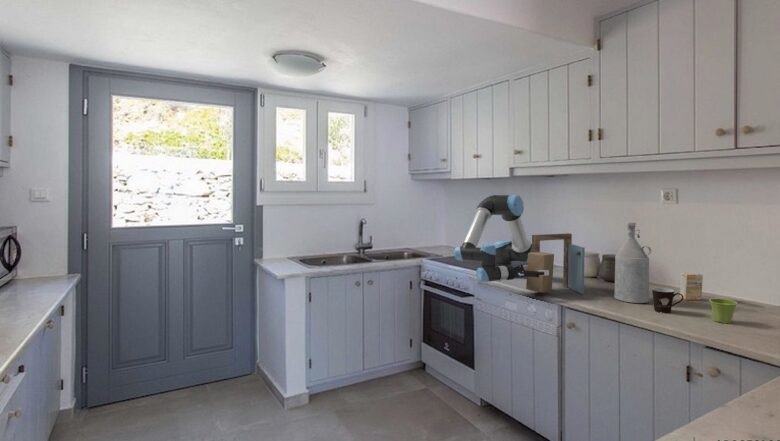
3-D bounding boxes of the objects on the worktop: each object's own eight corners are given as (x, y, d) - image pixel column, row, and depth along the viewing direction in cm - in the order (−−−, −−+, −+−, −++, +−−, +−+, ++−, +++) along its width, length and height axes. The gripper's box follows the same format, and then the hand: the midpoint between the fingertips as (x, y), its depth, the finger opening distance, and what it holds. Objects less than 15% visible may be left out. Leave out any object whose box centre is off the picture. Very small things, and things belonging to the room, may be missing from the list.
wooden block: (525, 289, 233) (527, 252, 232) (535, 287, 239) (537, 251, 238) (542, 292, 225) (544, 255, 224) (552, 290, 232) (554, 253, 231)
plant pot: (741, 325, 176) (742, 304, 175) (716, 324, 177) (717, 303, 177) (728, 318, 185) (728, 298, 184) (703, 317, 187) (704, 298, 186)
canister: (641, 306, 206) (643, 224, 203) (608, 298, 221) (609, 221, 218) (656, 302, 212) (659, 222, 209) (623, 295, 227) (625, 220, 224)
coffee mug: (649, 311, 197) (649, 290, 197) (654, 307, 203) (654, 286, 203) (678, 316, 189) (679, 294, 188) (683, 312, 195) (684, 290, 194)
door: (564, 287, 245) (565, 243, 244) (569, 286, 246) (570, 243, 244) (578, 294, 229) (579, 247, 227) (583, 293, 229) (584, 247, 227)
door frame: (531, 289, 244) (532, 235, 242) (567, 286, 250) (568, 233, 247) (534, 290, 241) (535, 235, 239) (571, 287, 247) (571, 233, 244)
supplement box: (685, 300, 215) (686, 274, 214) (679, 298, 219) (680, 272, 218) (702, 300, 214) (703, 274, 213) (695, 297, 219) (696, 272, 218)
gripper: (494, 275, 239) (528, 272, 244) (517, 285, 215) (555, 281, 220) (494, 262, 238) (528, 259, 243) (517, 270, 214) (555, 267, 219)
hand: (541, 270), depth 232 cm, fingers closed on wooden block, 12 cm apart
